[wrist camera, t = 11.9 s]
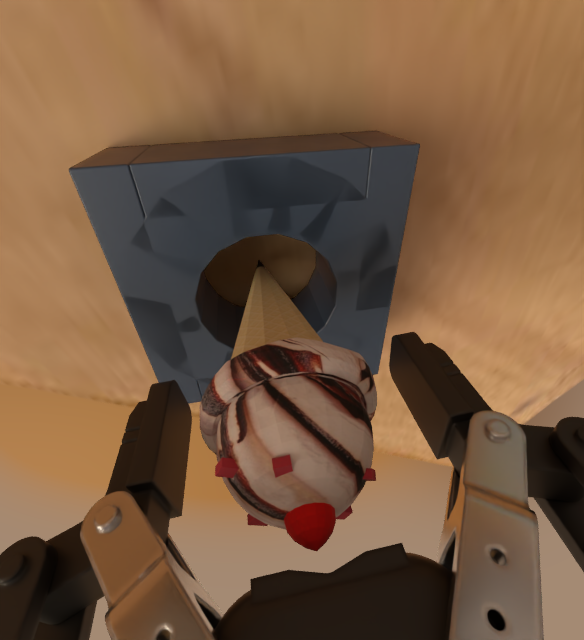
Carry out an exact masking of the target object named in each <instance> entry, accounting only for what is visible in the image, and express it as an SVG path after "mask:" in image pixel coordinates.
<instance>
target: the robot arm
mask: <svg viewBox="0 0 584 640" xmlns="http://www.w3.org/2000/svg"><path fill="white" fill-rule="evenodd" d="M389 367H390V373H391V376H392V379H393V381H394V383H395V384H396V386H397V388H398V390H399V392H400V393H401V395H402V397H403V399H404V401H405V402H406V404H407V406H408V408H409V410H410V411H411V413H412V415H413V417H414V419H415V420H416V422H417V424H418V426H419V428H420V429H421V431H422V433H423V435H424V437H425V438H426V440H427V442H428V444H429V446H430V447H431V449H432V451H433V453H434V455H435V456H436V458H437V459H440V458H445V457H449V459H450V461H451V462H452V464H453V467H452V472H451V479H450V486H449V493H448V501H447V507H446V514H445V520H444V526H443V531H442V534H441V538H440V543H439V548H438V553H437V560H436V562H435V561H433V560H431V559H429V558H426V557H423V556H420V555H417V554H413V553H406V552H405V550H404V547H403V545H402V543H399V544H395V545H391V546H387V547H383V548H378V549H374V550H370V551H366V552H364V553H362V554H361V555H359V556H358V557H356V558H354V559H353V560H351V561H349V562H348V563H346V564H345V565H343V566H341V567H340V568H338V569H337V570H335V571H334V572H331V573H315V572H305V571H293V570H287V571H282V572H279V573H274V574H270V575H266V576H262V577H257V578H254V579H251V590H250V591H248V592H247V593H245V594H244V595H243V596H242V597H240V598H239V599H238V600H237V601H236V602H235V603H234V604H233V605H232V606H231V607H230V608H229V609H228V610H227V612H226V613H225V614H224V615H223V614H222V612H221V610H220V609H219V607H218V606H217V604H216V603H215V602H214V600H213V599H212V597H211V596H210V595H209V593H208V592H207V591H206V590H205V588H204V587H203V586H202V584H201V583H200V581H199V580H198V579H197V577H196V575H195V574H194V572H193V571H192V569H191V568H190V566H189V564H188V563H187V561H186V560H185V558H184V557H183V556H182V554H181V552H180V550H179V549H178V548H177V546H176V544H175V543H174V541H173V540H172V538H171V536H170V535H169V534H168V527H169V520H170V518H175V517H179V516H182V507H183V498H184V489H185V479H186V469H187V461H188V451H189V442H190V433H191V424H192V416H191V410H190V407H189V404H188V402H187V400H186V399H185V397H184V395H183V393H182V391H181V389H180V387H179V385H178V383H177V382H176V381H175V380H171V381H166V382H161V383H156V384H152V386H151V388H150V391H149V395H148V399H147V401H142V402H139V403H138V404H137V406H136V407H135V409H134V410H133V412H132V413H131V414H130V416H129V419H128V423H127V426H126V429H125V431H126V433H124V436H123V439H122V445H121V446H120V449H119V453H118V456H117V460H116V463H115V466H114V470H113V473H112V477H111V480H110V483H109V487H108V490H107V492H106V495H105V496H104V497H103V498H102V499H100V500H99V501H98V502H97V503H95V504H94V506H93V507H92V508H91V509H90V510H89V512H88V513H87V515H86V516H85V518H84V520H83V521H82V522H81V523H79V524H77V525H75V526H74V527H72V528H70V529H68V530H66V531H65V532H63V533H61V534H59V535H57V536H55V537H54V538H52V539H50V540H48V541H44V540H42V539H41V538H39V537H27V538H24V539H21V540H19V541H17V542H16V543H14V544H13V545H11V546H10V547H9V548H7V549H6V550H5V551H4V552H3V553H2V554H1V555H0V640H89V637H90V633H91V628H92V623H93V618H94V613H95V608H96V604H97V600H99V599H100V598H102V597H103V596H105V598H106V601H107V603H108V608H109V610H108V612H107V613H106V615H105V622H106V626H107V630H108V632H109V635H110V637H111V640H544V638H543V616H542V596H541V575H540V553H539V532H538V521H537V517H536V514H535V512H534V511H532V510H530V508H529V505H528V497H534V499H535V500H536V502H537V503H538V504H539V506H540V508H541V509H542V511H543V512H544V514H545V515H546V517H547V518H548V519H549V521H550V523H551V524H552V526H553V527H554V529H555V530H556V532H557V533H558V534H559V536H560V537H561V539H562V540H563V542H564V543H565V545H566V546H567V548H568V549H569V551H570V552H571V554H572V555H573V557H574V558H575V560H576V561H577V563H578V564H579V566H580V567H581V568H582V570H583V572H584V418H579V417H567V418H564V419H562V420H560V421H559V423H558V424H557V425H556V427H555V428H553V427H542V426H529V425H521V424H518V423H517V422H516V421H514V420H513V419H512V418H510V417H508V416H507V415H504V414H502V413H499V412H496V411H493V410H492V409H491V408H490V407H489V406H488V405H487V403H486V402H485V401H484V400H483V398H482V397H481V396H480V395H479V393H478V392H477V391H476V390H475V388H474V387H473V386H472V385H471V384H470V382H469V381H468V380H467V379H466V377H465V376H464V375H463V374H462V373H461V372H460V370H459V369H458V367H457V366H456V365H455V364H453V361H452V360H451V359H450V357H449V356H448V355H447V354H446V353H445V351H443V350H442V349H440V348H439V347H437V346H436V345H434V344H433V343H427V344H424V343H423V342H422V340H421V339H420V338H419V336H418V335H417V334H416V333H415V332H410V333H405V334H400V335H395V336H393V337H392V342H391V352H390V363H389Z"/></svg>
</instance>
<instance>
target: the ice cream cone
mask: <svg viewBox="0 0 584 640" xmlns="http://www.w3.org/2000/svg"><path fill="white" fill-rule="evenodd" d="M376 406H377V392H376V387H375V383H374V378H373V375H372V373H371V370H370V368H369V366H368V364H367V363H366V361H365V360H364V358H363V357H362V356H361V355H360V354H359V353H357V352H354V351H351V350H348V349H345V348H342V347H338V346H335V345H332V344H328V343H325V342H323V341H322V339H321V338H320V337H319V336H318V334H317V333H316V332H315V330H314V329H313V328H312V327H311V325H310V324H309V323H308V321H307V320H306V319H305V318H304V316H303V315H302V314H301V312H300V311H299V310H298V309H297V307H296V306H295V305H294V303H293V302H292V301H291V300H290V298H289V297H288V296H287V294H286V293H285V292H284V291H283V289H282V288H281V287H280V285H279V284H278V283H277V282H276V280H275V279H274V278H273V277H272V275H271V274H270V273H269V271H268V270H267V269H266V268H265V266H264V265H263V264H262V262H261V261H260V260H258V264H257V267H256V271H255V275H254V278H253V282H252V285H251V289H250V293H249V296H248V300H247V303H246V307H245V311H244V314H243V318H242V321H241V325H240V329H239V332H238V336H237V339H236V343H235V347H234V350H233V354H232V357H231V360H229V361H227V362H226V363H225V364H224V365H223V366H222V368H221V369H220V370H219V371H218V372H217V373H216V374H215V376H214V377H213V379H212V380H211V382H210V384H209V385H208V387H207V388H206V390H205V393H204V395H203V397H202V400H201V404H200V429H201V433H202V437H203V439H204V441H205V443H206V444H207V446H208V448H209V449H210V450H212V451H213V452H214V453H215V454H216V455H217V461H218V464H217V465H216V468H215V476H218V477H223V481H224V483H225V484H226V486H227V488H228V490H229V491H230V493H231V495H232V496H233V498H234V499H235V500H236V501H237V502H238V504H239V505H240V506H241V507H242V508H243V509H245V511H246V512H248V513H249V514H248V515H247V517H248V525H260V526H267V525H270V526H274V527H278V528H282V529H286V530H287V533H288V534H289V535H290V536H291V538H292V539H293V540H294V541H295V542H297V543H298V544H300V545H302V546H303V547H305V548H307V549H311V550H314V551H318V549H320V548H321V547H322V546H323V545H324V544H325V543H326V542H327V540H328V539H329V537H330V536H331V534H332V532H333V529H334V526H335V521H336V519H345V518H346V517H348V516H349V515H350V514H351V513H352V509H351V504H352V503H353V502H354V500H355V499H356V497H357V496H358V494H359V493H360V492H361V490H362V488H363V487H364V485H365V482H366V481H376V477H375V476H376V475H375V470H373V469H371V465H372V458H373V450H374V447H373V433H372V425H371V422H370V421H371V420H372V418H373V416H374V414H375V410H376Z"/></svg>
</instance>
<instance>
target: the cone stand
mask: <svg viewBox="0 0 584 640" xmlns="http://www.w3.org/2000/svg"><path fill="white" fill-rule="evenodd" d="M419 148H420V144H418V143H415V142H411V141H408V140H405V139H402V138H398V137H395V136H392V135H389V134H385V133H382V132H379V131H365V132H349V133H339V134H338V133H333V134H317V135H302V136H286V137H270V138H254V139H239V140H223V141H207V142H192V143H176V144H160V145H152V146H150V145H145V146H130V147H114V148H106V149H104V150H102V151H100V152H99V153H97V154H95V155H93V156H91V157H89V158H88V159H86V160H84V161H82V162H80V163H78V164H76V165H75V166H73V167H71V168H69V172H70V175H71V177H72V179H73V182H74V184H75V186H76V189H77V191H78V193H79V196H80V198H81V201H82V203H83V205H84V208H85V210H86V212H87V215H88V217H89V219H90V222H91V224H92V226H93V229H94V231H95V234H96V236H97V238H98V241H99V243H100V245H101V248H102V250H103V252H104V255H105V257H106V259H107V262H108V264H109V266H110V269H111V271H112V274H113V276H114V278H115V281H116V283H117V285H118V288H119V290H120V292H121V295H122V297H123V299H124V302H125V304H126V306H127V309H128V311H129V314H130V316H131V318H132V321H133V323H134V325H135V328H136V330H137V332H138V335H139V337H140V339H141V342H142V344H143V347H144V349H145V351H146V354H147V356H148V358H149V361H150V363H151V365H152V368H153V370H154V372H155V375H156V377H157V379H158V382H159V383H161V382H166V381H171V380H175V381H176V382H177V383H178V385H179V387H180V389H181V391H182V393H183V395H184V397H185V399H186V400H187V402H188V403H194V402H201V400H202V397H203V395H204V393H205V390H206V388H207V387H208V385H209V384H210V382H211V380H212V379H213V377H214V376H215V374H216V373H217V372H218V371H219V370H220V369H221V368H222V366H223V365H224V364H225V363H226V362H227V361H229V360H231V357H232V354H233V350H234V347H235V343H236V339H237V336H238V332H239V329H240V325H241V321H242V318H243V314H244V311H245V307H240V306H235V305H233V304H232V303H230V302H229V301H227V300H225V299H224V298H222V297H220V296H219V295H218V294H217V293H216V292H215V290H214V289H213V288H212V286H211V285H210V284H209V282H208V281H207V280H206V278H205V273H204V269H205V268H206V267H207V266H208V264H209V263H210V262H211V261H212V259H213V258H214V257H215V256H216V255H217V253H218V252H219V251H221V250H223V249H225V248H227V247H229V246H230V245H232V244H234V243H236V242H238V241H240V240H242V239H244V238H246V237H252V236H262V235H272V234H280V235H284V236H287V237H290V238H294V239H297V240H301V241H304V242H307V243H308V244H309V245H311V246H312V247H313V248H314V249H315V250H316V267H315V270H314V272H313V274H312V276H311V279H310V281H309V283H308V285H307V286H306V287H305V288H304V289H303V290H302V291H301V292H300V293H299V294H298V295H297V296H296V297H295V298H293V299H291V301H292V302H293V303H294V305H295V306H296V307H297V309H298V310H299V311H300V312H301V314H302V315H303V316H304V318H305V319H306V320H307V321H308V323H309V324H310V325H311V327H312V328H313V329H314V330H315V332H316V333H317V334H318V336H319V337H320V338H321V339H322V341H323V342H325V343H328V344H332V345H335V346H338V347H342V348H345V349H348V350H351V351H354V352H357V353H359V354H360V355H361V356H362V357H363V358H364V360H365V361H366V363H367V364H368V366H369V368H370V370H371V373H372V375H375V374H378V370H379V365H380V359H381V354H382V348H383V343H384V338H385V332H386V327H387V321H388V316H389V310H390V305H391V300H392V294H393V289H394V283H395V278H396V273H397V267H398V262H399V256H400V251H401V245H402V240H403V235H404V229H405V224H406V218H407V213H408V208H409V202H410V197H411V191H412V186H413V181H414V175H415V170H416V164H417V159H418V153H419Z"/></svg>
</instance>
